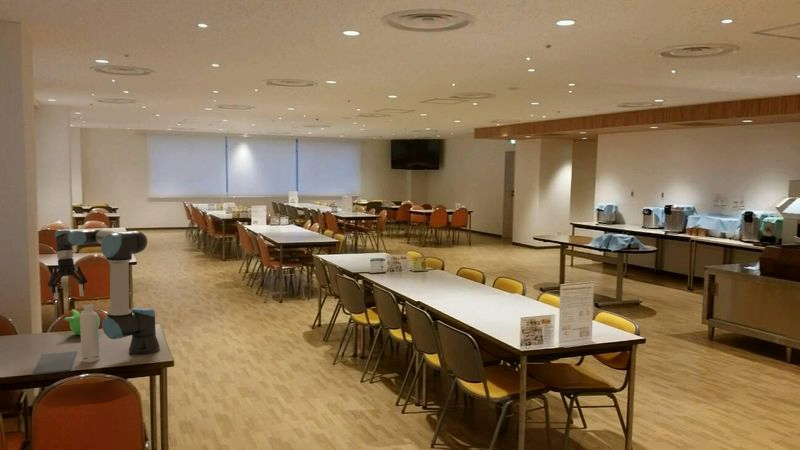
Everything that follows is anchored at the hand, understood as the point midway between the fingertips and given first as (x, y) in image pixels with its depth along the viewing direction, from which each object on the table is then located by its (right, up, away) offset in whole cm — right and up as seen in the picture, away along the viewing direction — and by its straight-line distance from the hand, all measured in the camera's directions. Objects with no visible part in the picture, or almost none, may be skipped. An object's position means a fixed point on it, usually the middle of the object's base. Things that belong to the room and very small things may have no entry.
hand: (69, 297), depth 335 cm
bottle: (+22, -29, -20) cm, 42 cm away
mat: (+7, -30, -26) cm, 40 cm away
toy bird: (-6, -25, +27) cm, 37 cm away
